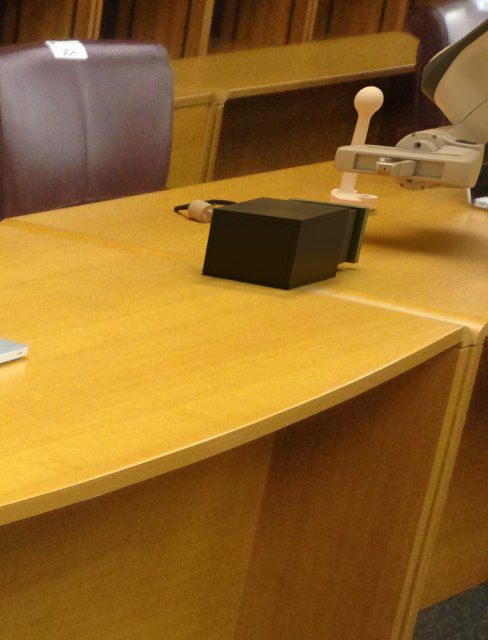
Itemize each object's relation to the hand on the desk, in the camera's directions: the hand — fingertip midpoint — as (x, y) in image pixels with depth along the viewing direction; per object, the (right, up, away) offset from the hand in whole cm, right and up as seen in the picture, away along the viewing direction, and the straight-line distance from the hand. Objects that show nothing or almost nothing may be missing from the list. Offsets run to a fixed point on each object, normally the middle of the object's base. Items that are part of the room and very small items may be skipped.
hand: (384, 169), depth 231 cm
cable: (-13, +2, +30) cm, 33 cm away
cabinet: (-24, -20, -14) cm, 34 cm away
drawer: (-16, -16, -8) cm, 24 cm away
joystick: (+14, +5, +38) cm, 41 cm away
